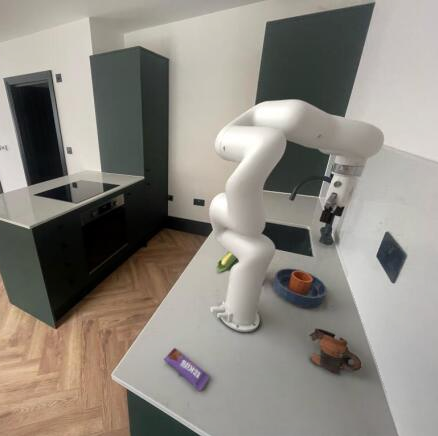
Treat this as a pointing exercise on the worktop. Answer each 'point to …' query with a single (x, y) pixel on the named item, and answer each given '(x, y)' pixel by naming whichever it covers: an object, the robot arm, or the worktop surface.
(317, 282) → the bowl
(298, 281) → the pot
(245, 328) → the robot arm
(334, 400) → the worktop surface
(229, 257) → the edible corn
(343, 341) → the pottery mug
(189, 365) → the snack package
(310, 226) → the worktop surface
